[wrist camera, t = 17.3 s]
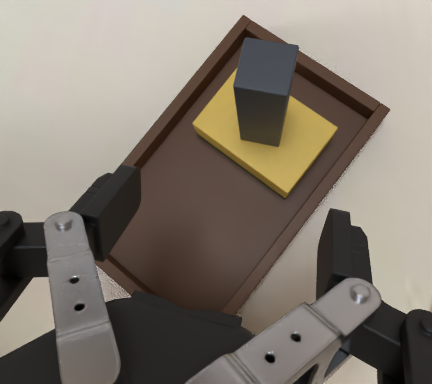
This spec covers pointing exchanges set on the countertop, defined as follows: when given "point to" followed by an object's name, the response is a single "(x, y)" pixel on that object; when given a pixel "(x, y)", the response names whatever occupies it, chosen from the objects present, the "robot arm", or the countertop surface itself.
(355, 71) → the countertop surface
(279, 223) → the tray
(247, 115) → the grey post with base
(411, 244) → the countertop surface
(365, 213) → the countertop surface
